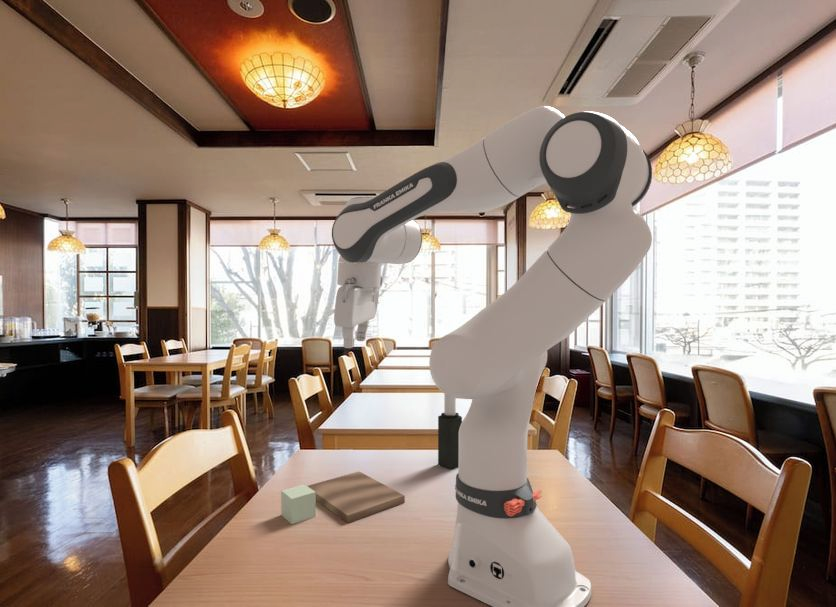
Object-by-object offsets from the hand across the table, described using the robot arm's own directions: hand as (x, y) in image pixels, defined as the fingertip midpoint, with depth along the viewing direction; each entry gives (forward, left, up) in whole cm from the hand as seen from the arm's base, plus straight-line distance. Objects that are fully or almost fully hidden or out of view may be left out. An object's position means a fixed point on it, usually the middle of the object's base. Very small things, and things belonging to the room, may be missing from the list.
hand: (355, 344), depth 95 cm
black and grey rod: (+5, -32, -34) cm, 47 cm away
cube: (+4, +11, -34) cm, 36 cm away
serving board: (+4, -2, -34) cm, 34 cm away
